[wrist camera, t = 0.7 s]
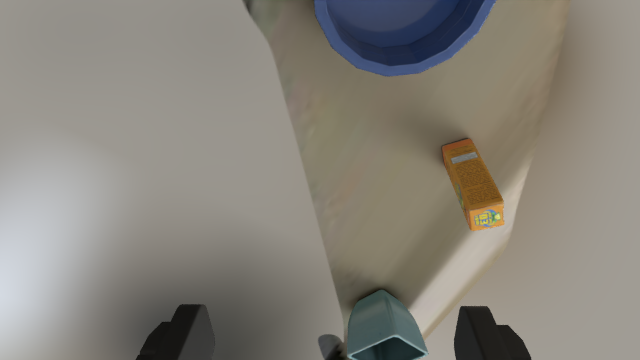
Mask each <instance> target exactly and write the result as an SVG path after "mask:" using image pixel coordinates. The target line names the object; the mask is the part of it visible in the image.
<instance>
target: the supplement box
mask: <svg viewBox="0 0 640 360" xmlns="http://www.w3.org/2000/svg"><path fill="white" fill-rule="evenodd" d="M442 151H443V158H444V163H445V167H446V170H447V172H448V175H449V177H450V180H451V182H452V185H453V187H454V190H455V192H456V195H457V197H458V200H459V202H460V205H461V207H462V210H463V212H464V215H465V217H466V220H467V222H468V225H469V227H470V230H471V231H475V230H482V229H487V228H492V227H497V226H501V225H504V220H503V208H504V201H503V198H502V196H501V194H500V192H499V190H498V188H497V187H496V185H495V183H494V181H493V179H492V177H491V175H490V173H489V171H488V169H487V167H486V166H485V164H484V162H483V160H482V158H481V156H480V154H479V152H478V151H477V149H476V147H475V145H474V143H473V142H472V140H471V139H465V140H461V141H458V142H454V143H451V144H448V145H444V146H442Z"/></svg>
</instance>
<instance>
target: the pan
mask: <svg viewBox="0 0 640 360" xmlns="http://www.w3.org/2000/svg"><path fill="white" fill-rule="evenodd" d="M495 2H496V0H314V7H315V16H316V18H317V20H318V22H319V24H320V26H321V28H322V30H323V32H324V34H325V36H326V38H327V39H328V41H329V43H330V45H331V47H332V48H333V49H334V50H335V51H336V52H338V53H339V54H340V55H341V56H343V57H344V58H345V59H346V60H347V61H349V62H350V63H351V64H352V65H354V66H355V67H356V68H358V69H362V70H365V71H369V72H372V73H376V74H380V75H383V76H398V75H407V74H416V73H421V72H423V71H425V70H427V69H429V68H431V67H433V66H435V65H437V64H440V63H442V62H444V61H446V60H448V59H450V58H452V57H453V56H454V55H455V54H456V53H457V52H458V51H459V50H460V49H461V48H462V47H463V46H464V45H465V44H467V43H468V42H469V41H470V40H471V39H472V38H473V37H474V36H475V35H476V34H477V33H478V32H479V31H480V29H481V27H482V25H483V24H484V22H485V20H486V18H487V16H488V15H489V13H490V11H491V9H492V8H493V6H494V4H495Z"/></svg>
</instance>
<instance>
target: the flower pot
mask: <svg viewBox="0 0 640 360" xmlns="http://www.w3.org/2000/svg"><path fill="white" fill-rule="evenodd" d="M428 354H429V353H428V351H427V348H426V346H425V343H424V340H423V338H422V335H421V333H420V330H419V328H418V325H417V323H416V321H415V319H414V318H413V316H412V315H411V313H410V312H409V311H408V310H407V308H406V307H405V306H404V305H403V304H402V303H401V302H400V301H399V300H398V299H396V298H395V297H393V296H392V295H390V294H389V293H387V292H386V291H384V290H379V291H377V292H375V293H373V294H371V295H369V296H367V297H365V298H363V299H361V300H359V301H358V302H357V303H356V305H355V307H354V309H353V311H352V313H351V315H350V319H349V323H348V341H347V357H349V358H350V359H353V360H417V359H419V358H422V357H424V356H427V355H428Z"/></svg>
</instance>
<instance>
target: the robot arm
mask: <svg viewBox="0 0 640 360" xmlns="http://www.w3.org/2000/svg"><path fill="white" fill-rule="evenodd" d="M214 346H215V338H214V333H213V329H212V326H211V322H210V319H209V315H208V312H207V308H206V306H205V305H196V304H195V305H194V304H191V305H188V304H185V305H183V304H182V305H180V306H179V307H178V308H177V310H176V312H175V314H174V316H173V318H172V320H171V322H162V323H161V324H160V325H159V326H158V327H157V328H156V329H155V330H154V331H153V332H152V333H151V334H150V335H149V336H148V338H147V340H146V342H145V344H144V345H143V347H142V349H141V351H140V355H138V356H137V358H136V360H211V359H212V356H213V353H214ZM454 350H455V356H456V360H531V357H530V354H529V352H528V350H527V348H526V346H525V344H524V342H523V340H522V339H521V338H520V337H519V336H518V335H517V334H516V333H515V332H514V331H513V330H512V329H511V328H510V327H509V326H508V325H496V323H495V320H494V318H493V316H492V313H491V312H490V309H489V308H488V307H487V306H461V307H460V310H459V316H458V321H457V326H456V332H455V338H454Z"/></svg>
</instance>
